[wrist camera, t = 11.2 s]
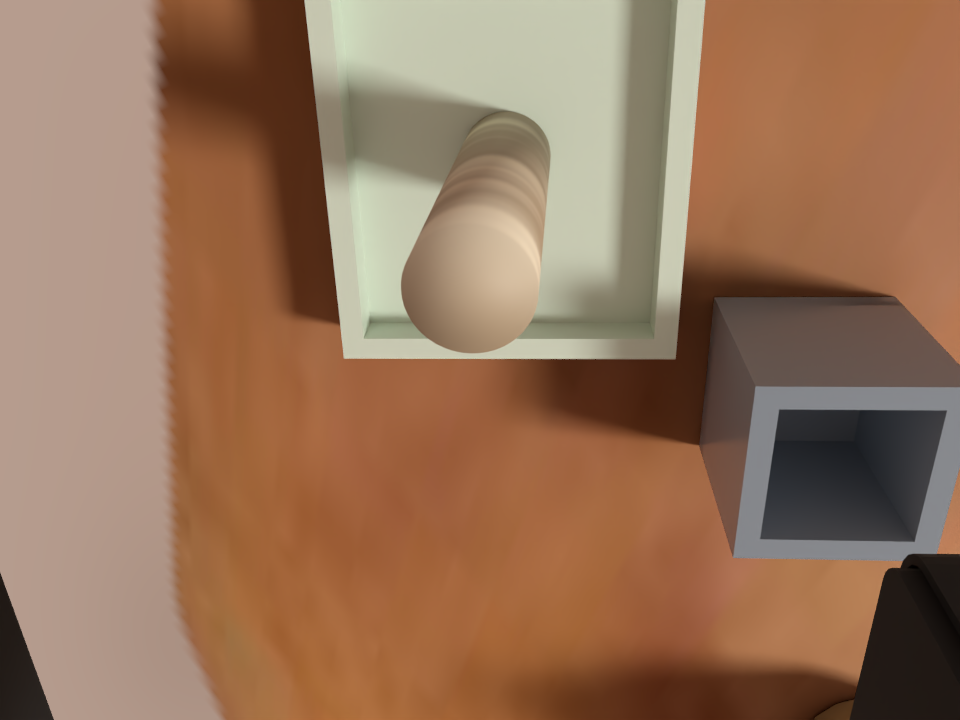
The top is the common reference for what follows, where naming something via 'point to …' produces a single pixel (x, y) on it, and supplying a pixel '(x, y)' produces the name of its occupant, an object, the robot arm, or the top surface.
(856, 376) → the holder
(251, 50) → the top surface
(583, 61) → the tray
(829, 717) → the squeeze bottle
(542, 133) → the dowel
